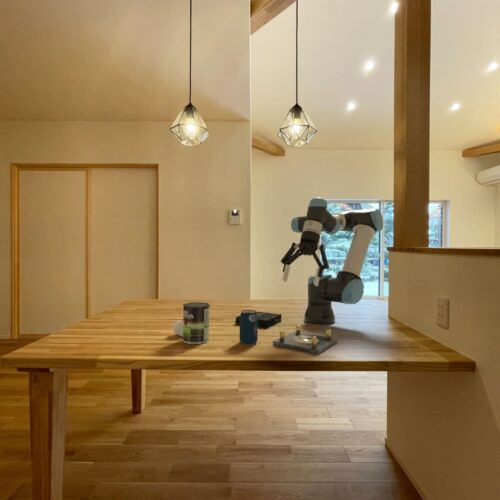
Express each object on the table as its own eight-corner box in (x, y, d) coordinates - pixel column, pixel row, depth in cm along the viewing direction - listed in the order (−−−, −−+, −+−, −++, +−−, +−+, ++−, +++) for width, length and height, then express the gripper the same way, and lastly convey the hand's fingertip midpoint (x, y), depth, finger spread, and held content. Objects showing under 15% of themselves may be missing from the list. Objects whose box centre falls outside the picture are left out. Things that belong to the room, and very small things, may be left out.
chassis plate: (295, 334, 133) (295, 322, 133) (337, 342, 122) (337, 329, 122) (272, 345, 118) (272, 331, 118) (317, 354, 108) (317, 340, 108)
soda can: (259, 344, 119) (259, 312, 119) (241, 345, 117) (241, 313, 117) (255, 339, 125) (255, 309, 125) (238, 340, 124) (238, 309, 124)
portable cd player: (250, 318, 166) (250, 310, 166) (281, 322, 158) (281, 314, 158) (235, 325, 152) (235, 316, 152) (267, 329, 144) (267, 320, 144)
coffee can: (192, 346, 117) (193, 307, 117) (177, 340, 124) (177, 304, 124) (214, 340, 124) (215, 304, 124) (199, 335, 131) (199, 301, 131)
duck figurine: (202, 339, 133) (204, 315, 140) (200, 332, 127) (202, 307, 134) (173, 339, 132) (177, 315, 139) (170, 332, 126) (174, 306, 133)
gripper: (280, 228, 135) (268, 276, 129) (337, 230, 120) (326, 284, 115) (288, 236, 141) (276, 281, 135) (343, 238, 126) (333, 289, 121)
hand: (299, 282), depth 125 cm, fingers open, 13 cm apart
